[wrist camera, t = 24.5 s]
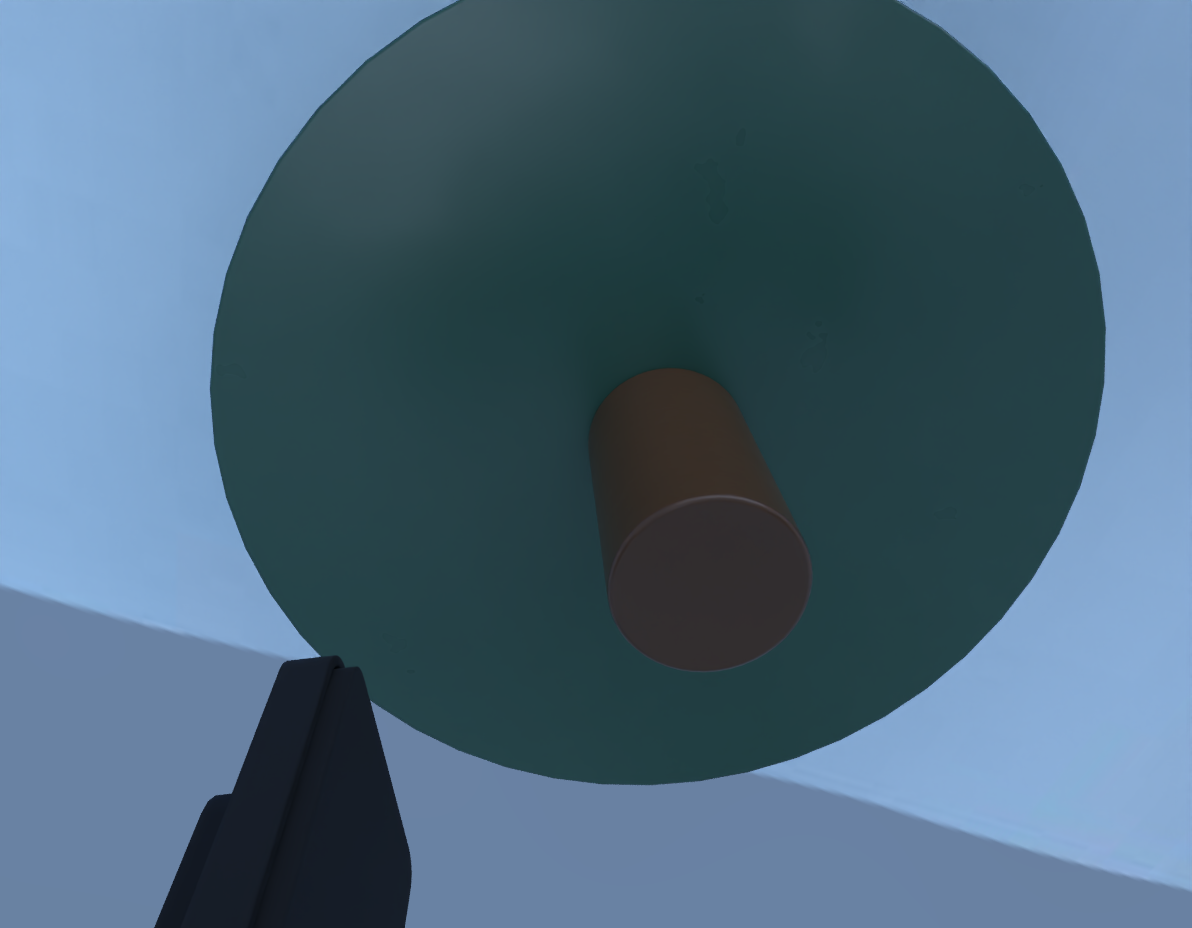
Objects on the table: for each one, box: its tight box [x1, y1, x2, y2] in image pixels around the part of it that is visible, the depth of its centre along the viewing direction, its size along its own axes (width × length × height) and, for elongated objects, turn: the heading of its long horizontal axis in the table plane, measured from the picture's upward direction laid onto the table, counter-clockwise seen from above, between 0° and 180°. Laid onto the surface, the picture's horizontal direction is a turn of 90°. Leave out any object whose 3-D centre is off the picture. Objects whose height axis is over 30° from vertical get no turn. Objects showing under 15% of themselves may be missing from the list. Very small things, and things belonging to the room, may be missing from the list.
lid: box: [210, 0, 1106, 785], centre depth 17 cm, size 16×16×6 cm
